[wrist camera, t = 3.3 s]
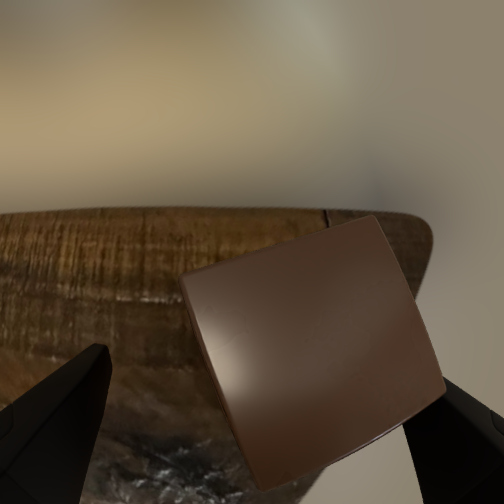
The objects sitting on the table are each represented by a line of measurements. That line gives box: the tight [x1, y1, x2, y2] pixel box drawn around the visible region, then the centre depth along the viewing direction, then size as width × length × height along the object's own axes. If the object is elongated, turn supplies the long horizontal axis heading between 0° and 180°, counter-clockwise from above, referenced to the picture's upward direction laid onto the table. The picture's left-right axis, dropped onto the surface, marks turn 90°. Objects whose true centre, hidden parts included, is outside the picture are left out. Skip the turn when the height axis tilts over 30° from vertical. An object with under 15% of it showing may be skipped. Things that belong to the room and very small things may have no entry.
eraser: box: [178, 215, 446, 492], centre depth 10 cm, size 6×4×14 cm, turn 21°
